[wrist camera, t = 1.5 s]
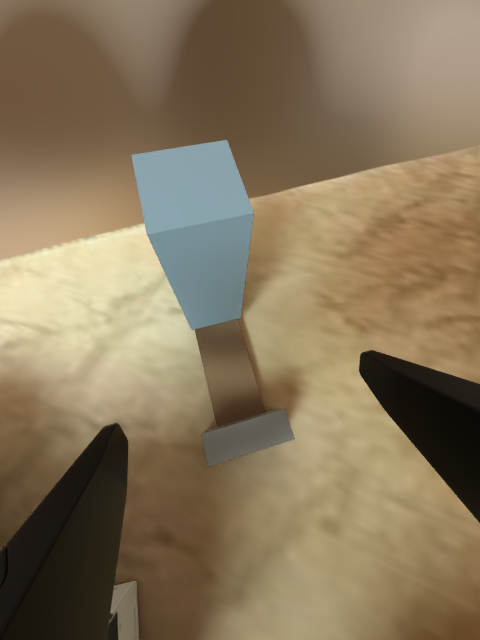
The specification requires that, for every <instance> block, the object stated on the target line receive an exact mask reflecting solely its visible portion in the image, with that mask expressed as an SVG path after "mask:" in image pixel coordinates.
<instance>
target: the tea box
mask: <svg viewBox="0 0 480 640" xmlns="http://www.w3.org/2000/svg"><path fill="white" fill-rule="evenodd" d="M107 640H139V624H138V603H137V582H136V581H131V582H127V583H123V584H119V585H115V586H114V590H113V597H112V604H111V611H110V619H109V626H108V633H107Z"/></svg>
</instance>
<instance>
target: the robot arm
mask: <svg viewBox="0 0 480 640" xmlns="http://www.w3.org/2000/svg"><path fill="white" fill-rule="evenodd" d="M359 372H360V375H361V376H362V378H363V379H364V381H365V382H366V384H367V385H368V387H369V388H370V390H371V391H372V393H373V394H374V395H375V397H376V398H377V400H378V401H379V403H380V404H381V406H382V407H383V408H384V410H385V411H386V412H387V413H388V415H389V416H390V417H391V418H392V419H393V421H394V422H395V423H396V424H397V425H398V426H399V428H400V429H401V430H402V431H403V432H404V434H405V435H406V436H407V437H408V438H409V440H410V441H411V442H412V443H413V444H414V445H415V447H416V448H417V449H418V450H419V451H420V453H421V454H422V455H423V456H424V457H425V459H426V460H427V461H428V462H429V463H430V464H431V466H432V467H433V468H434V469H435V470H436V472H437V473H438V474H439V475H440V476H441V478H442V479H443V480H444V481H445V482H446V484H447V485H448V486H449V487H450V488H451V489H452V491H453V492H454V493H455V494H456V495H457V497H458V498H459V499H460V500H461V501H462V503H463V504H464V505H465V506H466V507H467V508H468V510H469V511H470V512H471V513H472V514H473V516H474V517H475V518H476V519H477V520H478V522H479V523H480V384H478V383H475V382H471V381H468V380H465V379H462V378H459V377H456V376H453V375H449V374H446V373H443V372H440V371H437V370H434V369H430V368H427V367H424V366H421V365H418V364H415V363H411V362H408V361H405V360H402V359H399V358H396V357H392V356H389V355H386V354H383V353H380V352H377V351H373V350H369V351H366V352H363V353H361V355H360V365H359ZM127 473H128V440H127V437H126V436H125V434H124V432H123V430H122V428H121V427H120V425H119V424H118V423H114V424H110V425H107V426H105V427H103V428H102V430H101V431H100V432H99V433H98V434H97V436H96V437H95V438H94V439H93V440H92V442H91V443H90V444H89V445H88V446H87V448H86V449H85V450H84V451H83V453H82V454H81V455H80V456H79V457H78V459H77V460H76V461H75V462H74V463H73V465H72V466H71V467H70V468H69V469H68V471H67V472H66V473H65V474H64V475H63V477H62V478H61V479H60V480H59V481H58V483H57V484H56V485H55V486H54V488H53V489H52V490H51V491H50V492H49V494H48V495H47V496H46V497H45V498H44V500H43V501H42V502H41V503H40V504H39V506H38V507H37V508H36V509H35V510H34V512H33V513H32V514H31V515H30V516H29V518H28V519H27V520H26V521H25V522H24V524H23V525H22V526H21V527H20V529H19V530H18V531H17V532H16V533H15V535H14V536H13V537H12V538H11V539H10V541H9V542H8V543H7V546H5V547H4V548H3V549H2V550H1V551H0V640H107V633H108V626H109V619H110V611H111V604H112V597H113V590H114V582H115V575H116V568H117V561H118V553H119V546H120V539H121V532H122V524H123V517H124V510H125V503H126V494H127Z"/></svg>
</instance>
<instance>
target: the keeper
mask: <svg viewBox="0 0 480 640" xmlns="http://www.w3.org/2000/svg"><path fill="white" fill-rule="evenodd" d="M132 160H133V165H134V170H135V175H136V180H137V185H138V190H139V196H140V201H141V206H142V211H143V217H144V221H145V227H146V232H147V236H148V238H149V240H150V242H151V244H152V246H153V248H154V250H155V253H156V255H157V257H158V259H159V261H160V263H161V265H162V268H163V270H164V272H165V274H166V276H167V278H168V280H169V283H170V285H171V287H172V289H173V291H174V293H175V295H176V297H177V300H178V302H179V304H180V306H181V308H182V310H183V312H184V315H185V317H186V319H187V321H188V323H189V325H190V327H191V330H195V329H198V328H202V327H206V326H210V325H214V324H218V323H222V322H226V321H230V320H234V319H238V318H241V312H242V304H243V296H244V288H245V280H246V272H247V264H248V256H249V248H250V240H251V232H252V224H253V216H254V212H253V210H252V207H251V204H250V201H249V199H248V196H247V193H246V191H245V188H244V185H243V183H242V180H241V177H240V174H239V172H238V169H237V166H236V164H235V161H234V158H233V155H232V153H231V150H230V147H229V145H228V142H227V140H224V141H217V142H211V143H205V144H198V145H193V146H186V147H179V148H173V149H167V150H161V151H155V152H149V153H142V154H136V155H132Z"/></svg>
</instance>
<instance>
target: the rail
mask: <svg viewBox="0 0 480 640" xmlns="http://www.w3.org/2000/svg"><path fill="white" fill-rule="evenodd" d="M195 333H196V337H197V341H198V345H199V350H200V354H201V358H202V363H203V367H204V371H205V375H206V380H207V384H208V388H209V392H210V397H211V401H212V405H213V410H214V414H215V418H216V422H217V427H215V428H211V429H208V430H206V431H204V432H203V433H202V434H201V437H202V441H203V446H204V451H205V456H206V460H207V465H208V467H209V466H212V465H216V464H219V463H222V462H225V461H228V460H231V459H234V458H237V457H240V456H243V455H247V454H250V453H253V452H256V451H259V450H262V449H265V448H268V447H271V446H274V445H277V444H281V443H284V442H287V441H290V440H293V439H295V438H294V435H293V432H292V429H291V426H290V423H289V419H288V416H287V413H286V410H285V409H274V410H270V411H267V412H265V409H264V406H263V403H262V399H261V396H260V392H259V389H258V386H257V382H256V379H255V376H254V372H253V369H252V365H251V362H250V359H249V355H248V352H247V348H246V345H245V342H244V338H243V335H242V331H241V328H240V325H239V321H238V319H234V320H230V321H226V322H222V323H218V324H214V325H210V326H206V327H202V328H198V329H195Z"/></svg>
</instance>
